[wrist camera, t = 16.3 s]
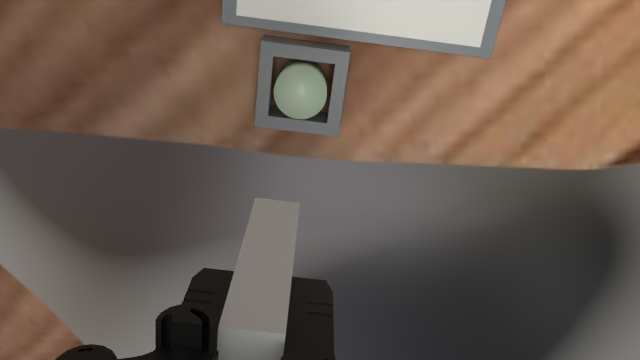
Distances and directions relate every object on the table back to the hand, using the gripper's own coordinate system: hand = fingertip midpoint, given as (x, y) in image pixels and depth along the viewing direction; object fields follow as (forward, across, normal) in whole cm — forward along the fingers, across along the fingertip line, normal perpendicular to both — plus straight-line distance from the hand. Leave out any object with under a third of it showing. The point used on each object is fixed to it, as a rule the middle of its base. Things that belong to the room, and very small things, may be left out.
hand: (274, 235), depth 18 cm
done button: (+22, 0, 0) cm, 22 cm away
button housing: (+22, 0, 0) cm, 22 cm away
